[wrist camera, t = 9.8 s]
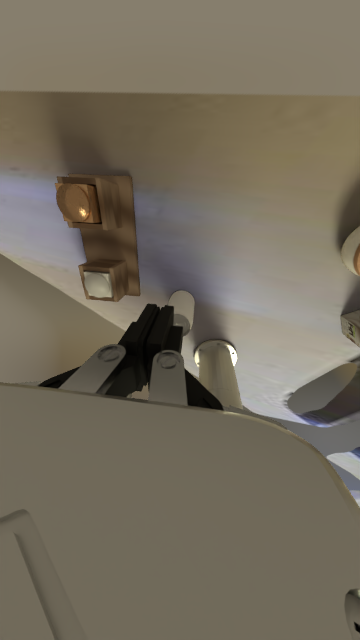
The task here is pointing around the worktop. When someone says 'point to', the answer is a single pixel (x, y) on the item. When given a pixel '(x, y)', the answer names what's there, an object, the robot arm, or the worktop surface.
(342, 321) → the coffee box
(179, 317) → the can
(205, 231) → the worktop surface
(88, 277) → the pale plunger
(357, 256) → the lidded jar
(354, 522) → the robot arm
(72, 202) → the copper plunger
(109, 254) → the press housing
